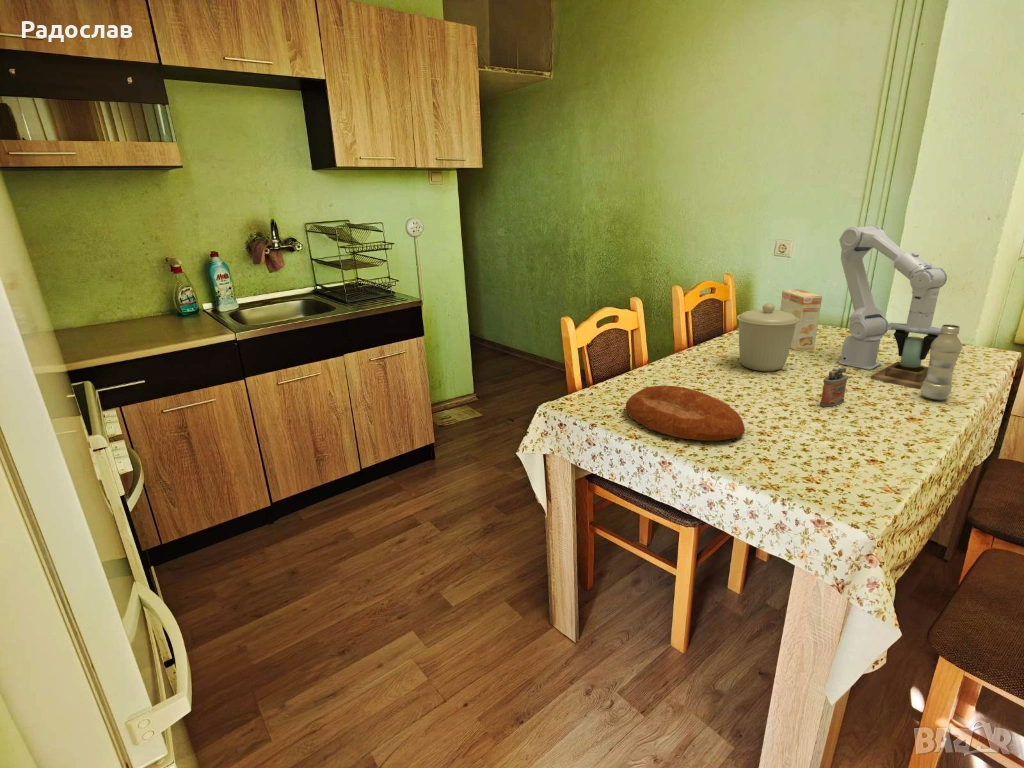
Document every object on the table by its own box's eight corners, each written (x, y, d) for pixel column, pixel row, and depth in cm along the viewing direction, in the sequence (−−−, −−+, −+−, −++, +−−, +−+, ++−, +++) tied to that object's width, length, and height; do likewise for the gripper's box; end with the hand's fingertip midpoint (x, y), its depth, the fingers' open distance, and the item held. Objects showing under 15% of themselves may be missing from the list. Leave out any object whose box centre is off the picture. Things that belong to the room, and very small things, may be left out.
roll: (897, 365, 155) (902, 338, 152) (903, 361, 157) (909, 335, 155) (916, 368, 151) (922, 341, 148) (922, 365, 154) (928, 338, 151)
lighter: (828, 409, 138) (834, 373, 135) (816, 405, 141) (821, 369, 137) (847, 402, 141) (853, 367, 138) (834, 398, 144) (840, 364, 141)
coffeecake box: (814, 350, 187) (823, 295, 180) (794, 350, 187) (802, 296, 181) (794, 339, 201) (801, 288, 194) (775, 340, 201) (781, 289, 195)
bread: (653, 396, 153) (655, 367, 150) (762, 426, 130) (767, 393, 127) (604, 419, 139) (605, 388, 136) (716, 457, 117) (720, 421, 114)
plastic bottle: (942, 394, 143) (960, 323, 136) (953, 403, 137) (972, 329, 130) (914, 393, 145) (930, 322, 138) (923, 401, 139) (941, 328, 132)
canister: (731, 373, 168) (738, 308, 161) (732, 357, 184) (738, 297, 177) (794, 377, 161) (804, 310, 154) (789, 360, 177) (798, 298, 170)
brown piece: (870, 378, 157) (872, 367, 156) (889, 368, 165) (891, 357, 164) (926, 390, 147) (929, 378, 145) (943, 378, 154) (946, 367, 153)
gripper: (886, 310, 152) (878, 355, 157) (948, 317, 141) (937, 365, 146) (896, 306, 156) (887, 350, 161) (956, 313, 145) (945, 360, 150)
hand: (911, 357), depth 154 cm, fingers closed on roll, 5 cm apart
